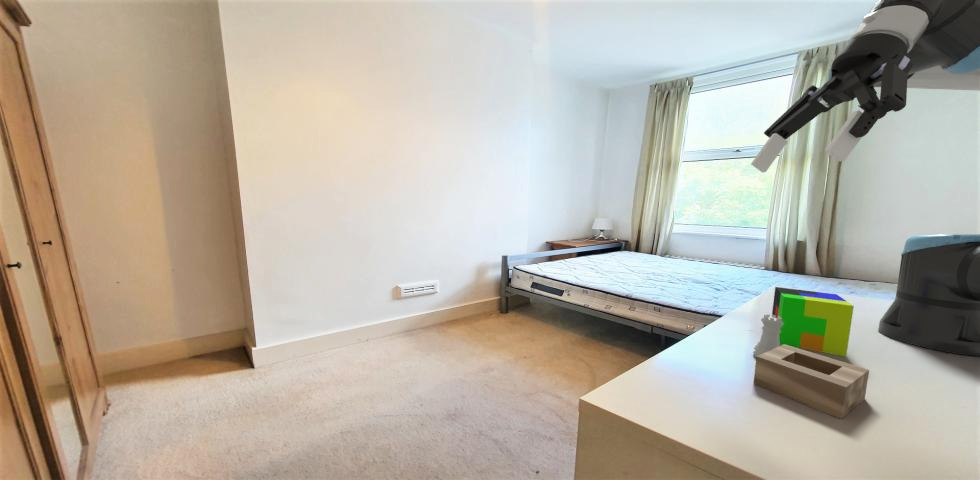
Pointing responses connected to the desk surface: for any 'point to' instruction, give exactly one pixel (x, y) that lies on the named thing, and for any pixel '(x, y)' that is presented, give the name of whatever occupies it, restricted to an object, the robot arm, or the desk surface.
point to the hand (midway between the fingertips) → (791, 162)
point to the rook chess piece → (769, 334)
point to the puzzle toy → (813, 320)
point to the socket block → (812, 379)
